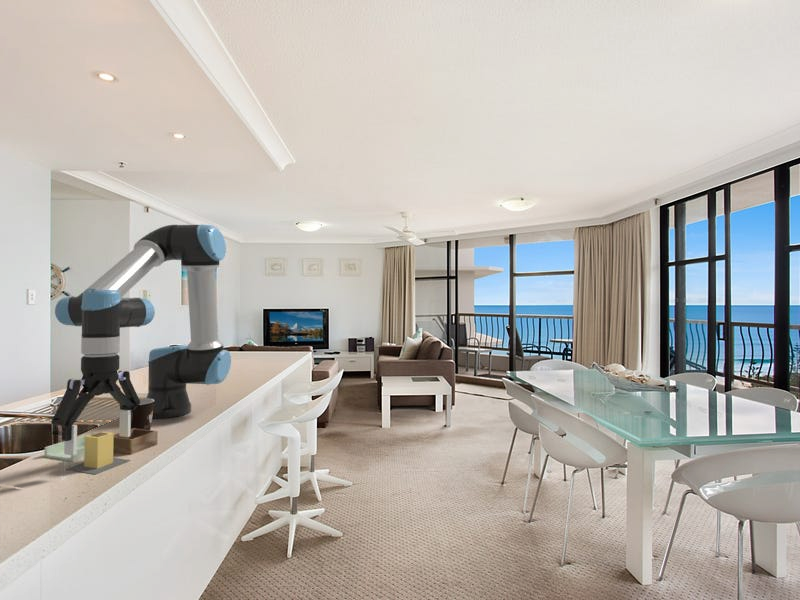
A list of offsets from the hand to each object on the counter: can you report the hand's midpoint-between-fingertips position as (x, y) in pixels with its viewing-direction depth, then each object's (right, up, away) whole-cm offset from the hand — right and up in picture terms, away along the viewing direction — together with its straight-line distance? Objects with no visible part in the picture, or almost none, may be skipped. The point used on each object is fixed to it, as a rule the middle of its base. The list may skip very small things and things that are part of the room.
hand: (99, 444), depth 103 cm
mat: (0, -5, 0) cm, 5 cm away
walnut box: (0, -5, +12) cm, 13 cm away
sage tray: (-10, -5, +9) cm, 15 cm away
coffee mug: (-4, -5, +24) cm, 25 cm away
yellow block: (0, -5, 0) cm, 5 cm away
